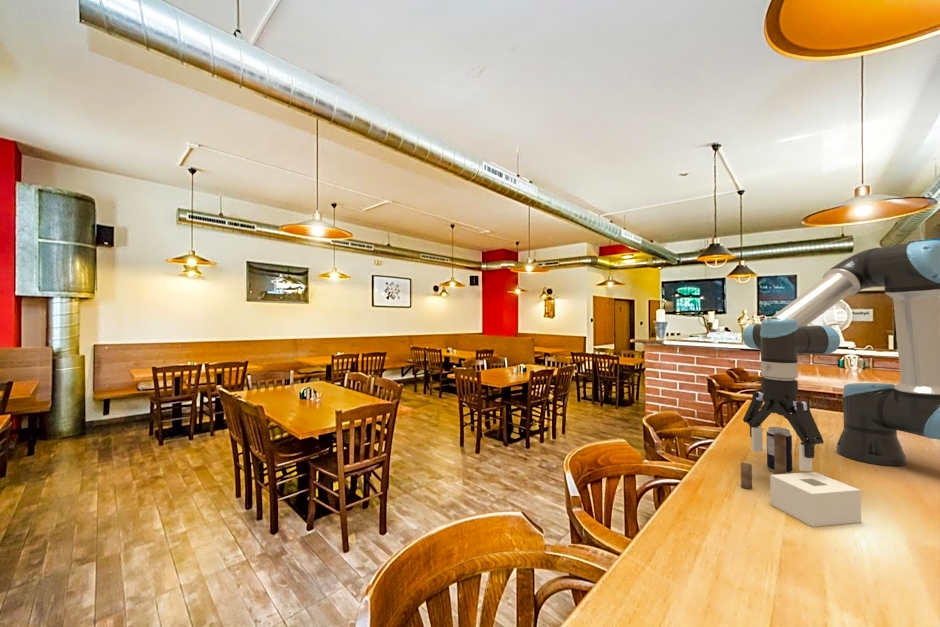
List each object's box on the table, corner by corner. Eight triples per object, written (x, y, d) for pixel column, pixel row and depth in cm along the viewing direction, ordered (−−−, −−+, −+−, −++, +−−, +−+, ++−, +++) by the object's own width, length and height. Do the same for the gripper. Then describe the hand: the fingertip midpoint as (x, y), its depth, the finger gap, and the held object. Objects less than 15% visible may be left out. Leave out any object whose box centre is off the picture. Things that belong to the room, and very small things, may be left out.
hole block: (814, 500, 94) (814, 471, 94) (861, 522, 84) (860, 490, 85) (770, 504, 93) (770, 475, 93) (812, 526, 83) (812, 493, 83)
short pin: (746, 485, 103) (746, 462, 103) (754, 489, 101) (754, 466, 101) (738, 485, 103) (738, 463, 103) (746, 489, 101) (745, 466, 101)
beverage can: (797, 475, 109) (796, 432, 109) (773, 474, 110) (773, 431, 110) (785, 467, 115) (784, 427, 115) (763, 466, 116) (762, 426, 116)
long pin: (780, 486, 102) (779, 433, 102) (789, 490, 100) (788, 435, 100) (772, 486, 102) (771, 433, 102) (780, 491, 100) (780, 436, 100)
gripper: (728, 371, 113) (728, 444, 113) (814, 387, 88) (815, 480, 88) (751, 371, 114) (752, 443, 114) (843, 386, 89) (844, 479, 89)
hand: (779, 460), depth 101 cm, fingers open, 13 cm apart
